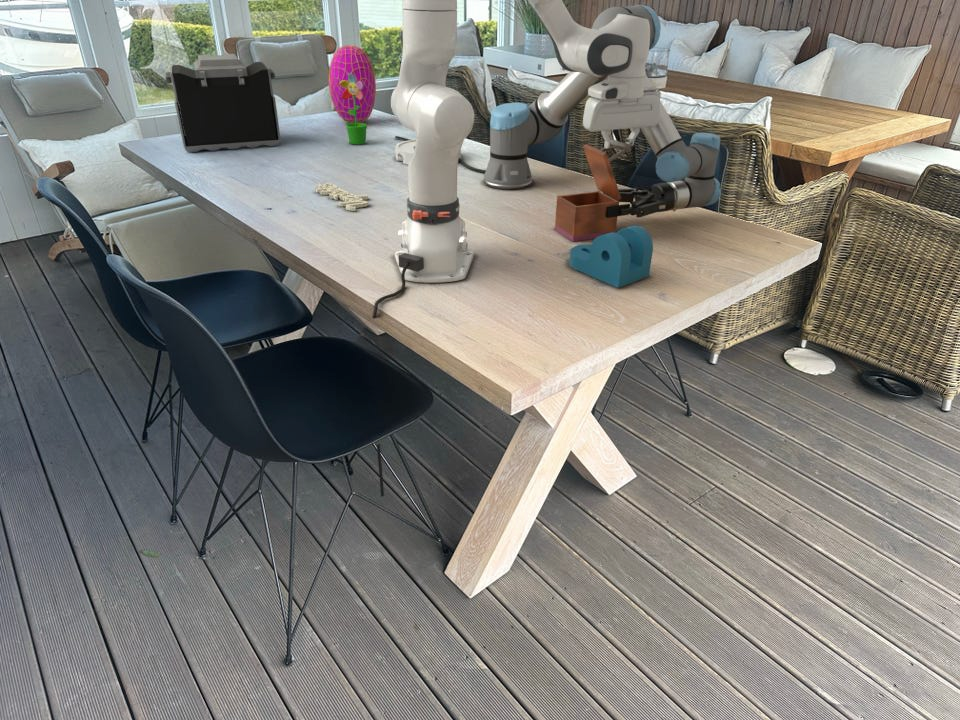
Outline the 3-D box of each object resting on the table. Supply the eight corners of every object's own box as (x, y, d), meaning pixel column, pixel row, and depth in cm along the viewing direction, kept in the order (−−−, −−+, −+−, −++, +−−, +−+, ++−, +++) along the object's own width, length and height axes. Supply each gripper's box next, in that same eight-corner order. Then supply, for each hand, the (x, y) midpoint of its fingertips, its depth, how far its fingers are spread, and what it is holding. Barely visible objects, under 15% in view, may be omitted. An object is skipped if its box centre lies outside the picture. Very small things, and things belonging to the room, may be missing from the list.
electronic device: (278, 133, 274) (267, 51, 259) (285, 146, 256) (274, 59, 241) (180, 140, 262) (162, 54, 247) (180, 153, 244) (161, 62, 229)
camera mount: (649, 276, 155) (655, 231, 150) (618, 287, 149) (623, 242, 144) (590, 252, 167) (594, 210, 162) (559, 262, 161) (562, 219, 156)
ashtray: (454, 167, 232) (454, 155, 230) (388, 164, 235) (387, 152, 233) (466, 151, 252) (466, 140, 250) (404, 148, 255) (404, 137, 253)
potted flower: (342, 144, 260) (336, 73, 247) (351, 139, 266) (346, 70, 254) (365, 146, 257) (360, 74, 245) (374, 141, 264) (369, 71, 251)
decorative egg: (362, 116, 305) (357, 42, 290) (386, 123, 292) (382, 46, 277) (324, 121, 294) (316, 45, 279) (347, 129, 281) (340, 49, 266)
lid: (603, 155, 165) (630, 137, 166) (582, 146, 173) (609, 129, 174) (618, 200, 173) (644, 183, 174) (597, 189, 181) (623, 173, 182)
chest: (572, 241, 174) (575, 207, 169) (554, 229, 182) (556, 196, 177) (615, 235, 178) (619, 201, 174) (595, 223, 186) (599, 190, 182)
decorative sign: (381, 201, 196) (350, 208, 191) (381, 205, 197) (350, 211, 192) (338, 180, 214) (308, 186, 209) (338, 183, 215) (308, 189, 209)
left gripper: (653, 83, 171) (646, 140, 178) (582, 88, 164) (577, 147, 171) (669, 87, 166) (661, 146, 173) (596, 92, 159) (590, 153, 166)
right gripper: (691, 223, 178) (618, 234, 171) (641, 198, 196) (573, 207, 188) (696, 194, 174) (621, 204, 167) (645, 172, 192) (575, 180, 185)
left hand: (618, 146), depth 172 cm, fingers open, 5 cm apart
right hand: (596, 206), depth 178 cm, fingers closed on chest, 10 cm apart
